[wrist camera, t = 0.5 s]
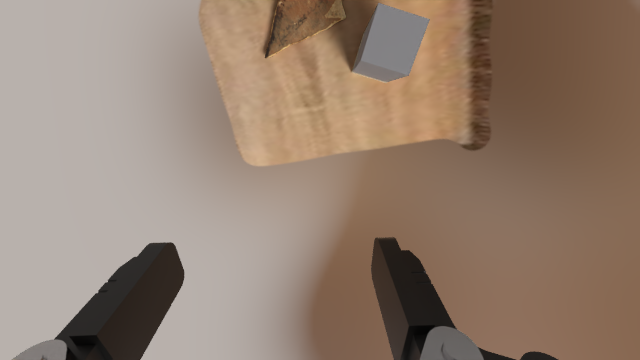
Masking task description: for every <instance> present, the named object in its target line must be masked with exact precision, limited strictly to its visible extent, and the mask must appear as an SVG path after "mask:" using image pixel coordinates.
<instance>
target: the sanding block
mask: <svg viewBox="0 0 640 360" xmlns="http://www.w3.org/2000/svg"><path fill="white" fill-rule="evenodd" d="M429 20H430V19H427V18H424V17H421V16H418V15H415V14H411V13H408V12H405V11H402V10H399V9H396V8H393V7H390V6H387V5H384V4H381V3H378V5H377V7H376V9H375V11H374V13H373V15H372V17H371V20H370V22H369V24H368V26H367V28H366V30H365V32H364V33H363V36H362V40H361V43H360V46H359V49H358V53H357V56H356V59H355V63H354V66H353V69H352V73H355V74H358V75H361V76H365V77H368V78H371V79H374V80H378V81H381V82H384V83H387V82H389V81H392V80H396V79H399V78H402V77H405V76H409V73H410V71H411V68H412V65H413V63H414V60H415V57H416V55H417V52H418V49H419V47H420V44H421V41H422V39H423V36H424V33H425V31H426V28H427V25H428V23H429Z"/></svg>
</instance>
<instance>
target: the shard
mask: <svg viewBox="0 0 640 360" xmlns="http://www.w3.org/2000/svg"><path fill="white" fill-rule="evenodd" d="M345 18H346V15H345V12H344V9H343V6H342V1H341V0H279V1H278V4H277V7H276V11H275V16H274V20H273V25H272V30H271V37H270V41H269V45H268V47H267V49H266V55H265V58H268V57H272V56H273V55H275V54H277V53H278V52H280V51H282V50H283V49H285V48H287V47H288V46H290V45H292V44H295V43H298V42H301V41H303V40H305V39H307V38H309V37H312V36H314V35H316V34H318V33H319V32H322V31H324V30H327V29H328V28H330V27H331V26H332V25H333V24H335V23H337V22H340V21H341V20H343V19H345Z"/></svg>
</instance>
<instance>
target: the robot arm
mask: <svg viewBox="0 0 640 360" xmlns="http://www.w3.org/2000/svg"><path fill="white" fill-rule="evenodd" d="M371 266H372V267H371V272H372V280H373V284H374V288H375V291H376V295H377V299H378V302H379V306H380V310H381V314H382V317H383V321H384V325H385V328H386V332H387V336H388V339H389V343H390V347H391V351H392V354H393V358H394V360H515V359H512V358H508V357H505V356H501V355H498V354H495V353H491V352H488V351H485V350H483V349H481V348H479V347H477V346H476V344H475V343H474V342H473V341H472V340H471V339H470V338H469V337H468V336H466V335H465V334H464V333H462V332H460V331H459V330H457V329H456V328H455V326H454V324H453V323H452V321H451V319H450V317H449V315H448V313H447V311H446V309H445V307H444V305H443V304H442V302H441V300H440V298H439V296H438V294H437V292H436V290H435V288H434V286H433V284H431V281H430V279H429V277H428V275H427V274H426V271H425V269H424V267H423V265H422V264H421V262H420V260H419V259H418V258H417V257H416V256H415V255H414V254H413V253H412V252H410V251H409V250H406V251H405V250H402V251H401V249H400V247H399V245H398V242H397V241H396V239H395V238H394V237H389V238H375V241H374V249H373V256H372V265H371ZM183 280H184V269H183V267H182V264H181V261H180V258H179V256H178V252H177V250H176V247H175V245H174V244H173V243H150V244H148V245H147V246H146V247H145V248H144V250H143V251H142V252H141V253H140V254H139V255H138V256H137V257H134V258H132V259H131V260H129V261H128V262H127V263H125V264H124V265H122V266H121V267H120V268H119V269H118V270H117V271H116V272H115V273H114V274H113V275H112V276H111V277H110V279H109V280H108V282H107V283H105V284H104V285H103V286H102V287H101V289H100V290H99V292H98V293H96V294H95V295H94V296H93V297H92V298H91V300H90V301H89V302H88V303H87V304H86V305H85V306H84V307H83V308H82V309H81V310H80V311H79V313H78V314H77V315H76V316H75V317H74V318H73V319H72V320H71V321H70V323H69V324H68V325H67V326H66V327H65V328H64V329H63V330H62V331H61V333H60V334H59V335H58V336H57V337H56V338H55V339H54V340H49V341H45V342H42V343H39V344H37V345H35V346H33V347H31V348H29V349H27V350H25V351H24V352H22V353H20V354H19V355H18V356H16V357H15V358H13V359H12V360H140V359H141V358H142V356H143V354H144V352H145V350H146V349H147V347H148V345H149V343H150V341H151V340H152V338H153V336H154V334H155V333H156V331H157V329H158V327H159V326H160V324H161V322H162V320H163V318H164V317H165V315H166V313H167V311H168V310H169V308H170V306H171V304H172V302H173V301H174V299H175V297H176V295H177V294H178V292H179V290H180V288H181V286H182V284H183ZM520 360H558V359H556V358H554V357H552V356H550V355H547V354H545V353H541V352H528V353H525V354H524V355H523V356H522V358H521V359H520Z"/></svg>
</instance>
